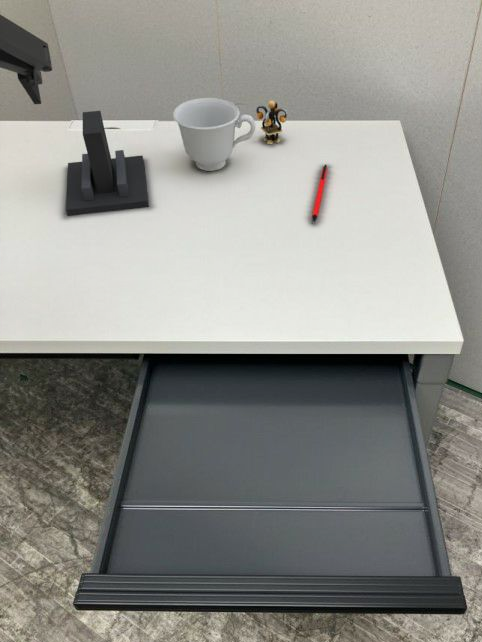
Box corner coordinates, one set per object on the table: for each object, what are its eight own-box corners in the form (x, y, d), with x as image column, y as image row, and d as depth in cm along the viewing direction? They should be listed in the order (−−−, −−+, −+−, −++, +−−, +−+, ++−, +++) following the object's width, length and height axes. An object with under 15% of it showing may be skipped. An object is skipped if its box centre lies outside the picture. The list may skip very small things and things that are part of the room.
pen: (327, 167, 113) (328, 162, 112) (315, 225, 101) (316, 219, 100) (323, 167, 113) (323, 161, 112) (310, 224, 101) (311, 218, 100)
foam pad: (97, 193, 105) (82, 134, 96) (97, 170, 110) (82, 112, 102) (115, 192, 105) (101, 132, 97) (113, 169, 110) (100, 110, 102)
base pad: (67, 215, 102) (61, 196, 100) (69, 168, 113) (64, 150, 110) (148, 206, 104) (145, 187, 101) (143, 161, 115) (140, 142, 112)
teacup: (251, 183, 109) (249, 131, 102) (172, 177, 111) (165, 125, 103) (260, 151, 117) (259, 100, 110) (187, 146, 118) (181, 95, 111)
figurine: (254, 136, 121) (255, 97, 114) (275, 131, 122) (277, 93, 116) (265, 148, 118) (266, 109, 112) (286, 143, 120) (289, 104, 114)
